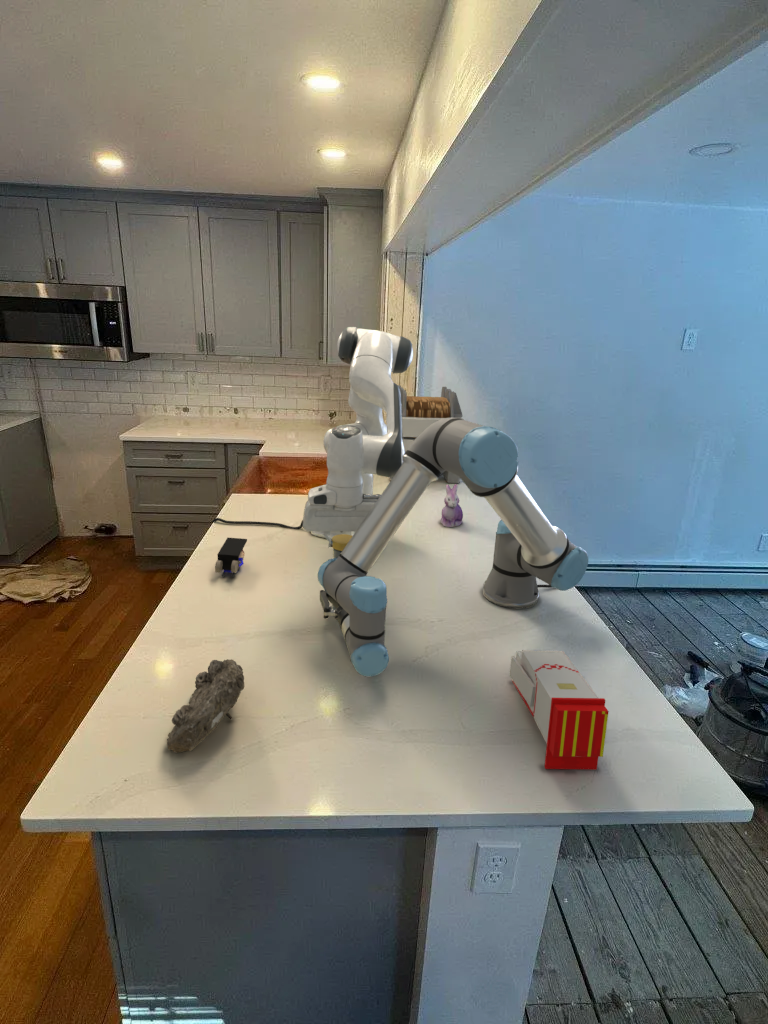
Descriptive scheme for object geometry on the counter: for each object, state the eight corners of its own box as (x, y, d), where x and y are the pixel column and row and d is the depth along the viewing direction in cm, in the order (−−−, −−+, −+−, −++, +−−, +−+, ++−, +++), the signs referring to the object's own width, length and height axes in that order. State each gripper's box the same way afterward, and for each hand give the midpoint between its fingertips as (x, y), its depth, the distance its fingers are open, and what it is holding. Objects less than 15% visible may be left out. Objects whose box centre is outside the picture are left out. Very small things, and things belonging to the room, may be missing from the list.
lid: (330, 550, 139) (330, 542, 138) (333, 540, 144) (333, 533, 144) (354, 551, 139) (354, 543, 138) (356, 542, 144) (356, 534, 144)
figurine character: (238, 584, 162) (249, 557, 175) (236, 562, 158) (247, 536, 172) (215, 584, 161) (227, 556, 175) (212, 561, 158) (225, 535, 171)
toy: (559, 632, 124) (618, 706, 95) (553, 688, 127) (609, 777, 97) (504, 631, 123) (546, 705, 94) (499, 687, 126) (539, 776, 97)
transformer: (382, 463, 289) (386, 382, 275) (445, 464, 293) (451, 384, 279) (390, 482, 257) (394, 392, 243) (460, 483, 261) (468, 394, 247)
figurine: (448, 529, 205) (451, 490, 200) (433, 520, 214) (436, 482, 209) (469, 526, 210) (473, 487, 204) (454, 517, 218) (457, 479, 213)
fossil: (192, 660, 117) (244, 628, 112) (224, 691, 120) (276, 661, 115) (142, 746, 98) (202, 712, 93) (182, 779, 101) (242, 748, 96)
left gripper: (385, 490, 141) (383, 541, 146) (302, 489, 139) (303, 541, 143) (388, 498, 135) (386, 551, 140) (302, 497, 133) (302, 551, 137)
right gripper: (317, 643, 128) (304, 595, 149) (394, 635, 133) (372, 589, 154) (317, 614, 126) (304, 569, 147) (396, 607, 130) (373, 564, 151)
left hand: (343, 546), depth 141 cm, fingers closed on lid, 5 cm apart
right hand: (339, 579), depth 150 cm, fingers closed on jar, 5 cm apart
